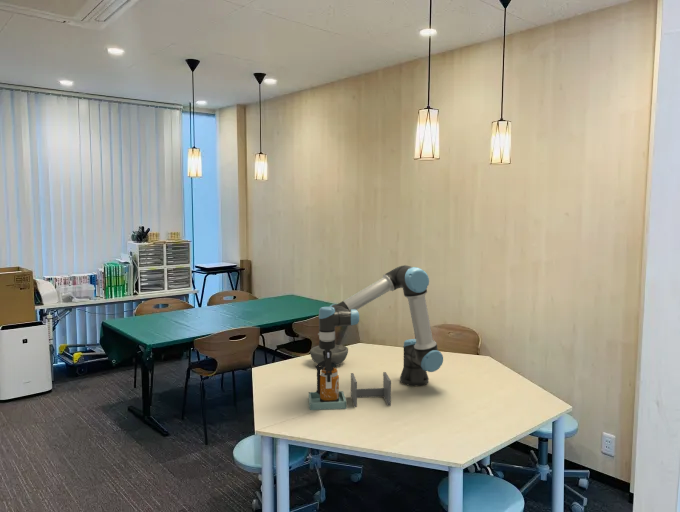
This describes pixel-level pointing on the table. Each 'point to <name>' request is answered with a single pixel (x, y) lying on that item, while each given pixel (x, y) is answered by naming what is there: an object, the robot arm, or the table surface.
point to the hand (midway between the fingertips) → (327, 383)
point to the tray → (317, 405)
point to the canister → (325, 394)
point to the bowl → (337, 354)
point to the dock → (371, 390)
